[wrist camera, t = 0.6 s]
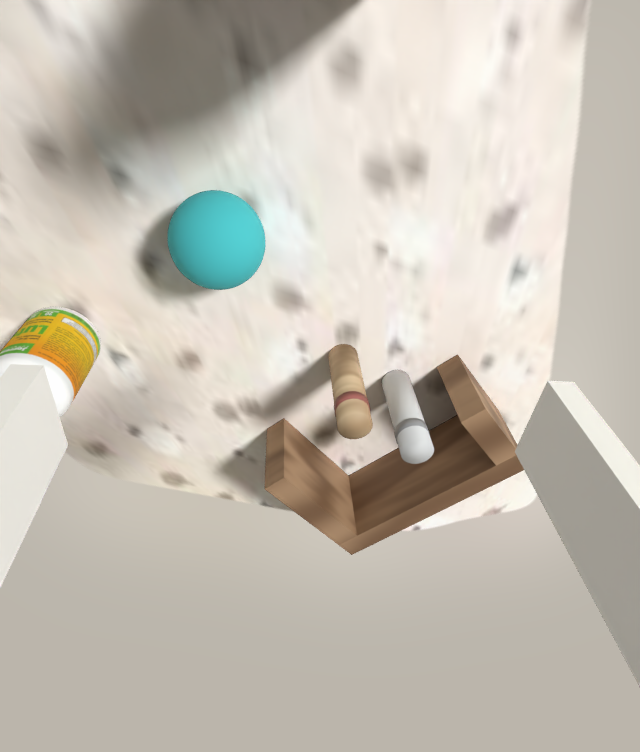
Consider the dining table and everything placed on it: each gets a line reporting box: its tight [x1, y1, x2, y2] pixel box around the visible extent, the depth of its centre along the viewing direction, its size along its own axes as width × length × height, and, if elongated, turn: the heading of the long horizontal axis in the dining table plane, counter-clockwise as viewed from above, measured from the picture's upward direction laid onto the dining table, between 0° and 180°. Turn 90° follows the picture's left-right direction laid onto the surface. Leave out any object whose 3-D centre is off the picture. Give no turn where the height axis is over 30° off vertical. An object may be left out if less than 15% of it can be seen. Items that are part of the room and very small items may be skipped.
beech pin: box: [328, 344, 372, 439], centre depth 37 cm, size 2×2×8 cm
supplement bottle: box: [0, 307, 101, 417], centre depth 33 cm, size 5×5×10 cm
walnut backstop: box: [265, 355, 524, 555], centre depth 42 cm, size 12×18×7 cm
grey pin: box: [382, 370, 434, 464], centre depth 38 cm, size 2×2×8 cm
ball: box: [168, 190, 265, 290], centre depth 31 cm, size 6×6×6 cm
